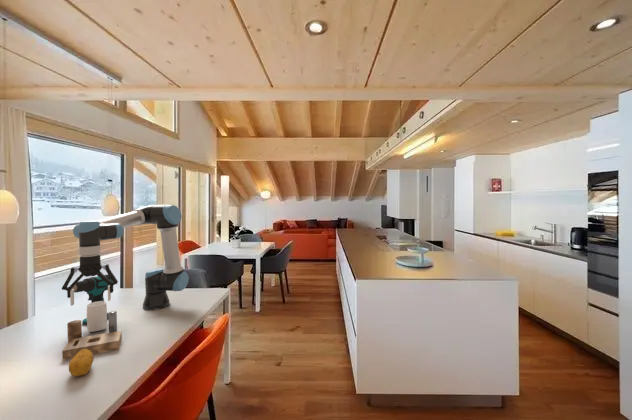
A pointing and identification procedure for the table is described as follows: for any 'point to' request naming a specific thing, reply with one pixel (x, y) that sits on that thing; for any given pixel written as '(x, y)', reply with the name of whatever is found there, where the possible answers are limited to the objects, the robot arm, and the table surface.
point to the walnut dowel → (74, 329)
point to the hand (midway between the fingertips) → (91, 302)
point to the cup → (96, 316)
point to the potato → (81, 363)
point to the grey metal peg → (112, 321)
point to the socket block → (93, 344)
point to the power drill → (92, 289)
